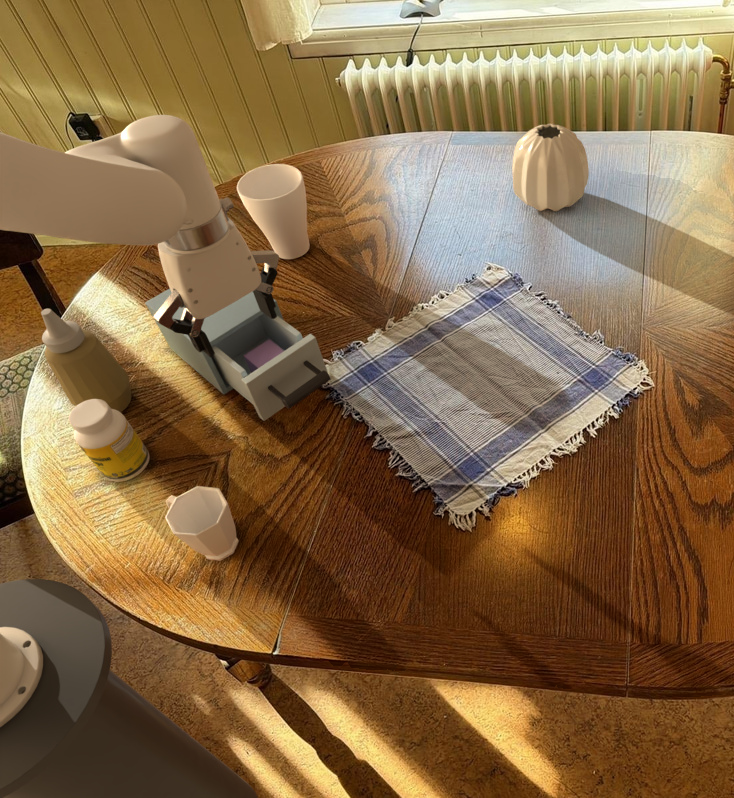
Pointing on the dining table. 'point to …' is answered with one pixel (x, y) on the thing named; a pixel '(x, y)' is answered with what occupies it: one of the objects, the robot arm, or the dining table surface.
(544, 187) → the vase
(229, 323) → the cabinet
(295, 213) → the cup
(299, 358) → the drawer
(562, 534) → the dining table surface
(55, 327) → the squeeze bottle
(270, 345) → the cube
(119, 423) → the pill bottle
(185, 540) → the cup
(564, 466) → the dining table surface
